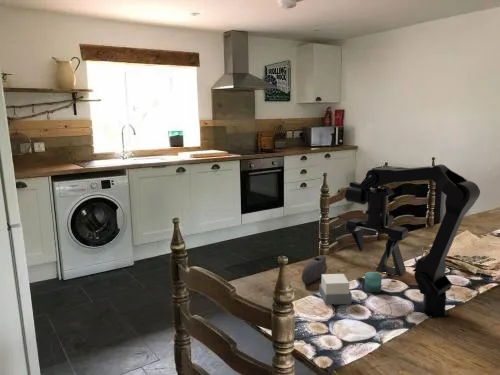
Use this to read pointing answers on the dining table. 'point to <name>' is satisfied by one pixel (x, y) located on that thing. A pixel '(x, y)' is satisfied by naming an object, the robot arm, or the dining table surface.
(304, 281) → the perforated stone tool
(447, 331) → the dining table surface
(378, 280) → the teal short cylinder
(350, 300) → the slate base block
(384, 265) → the grey a-frame stand
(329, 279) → the off-white top block
